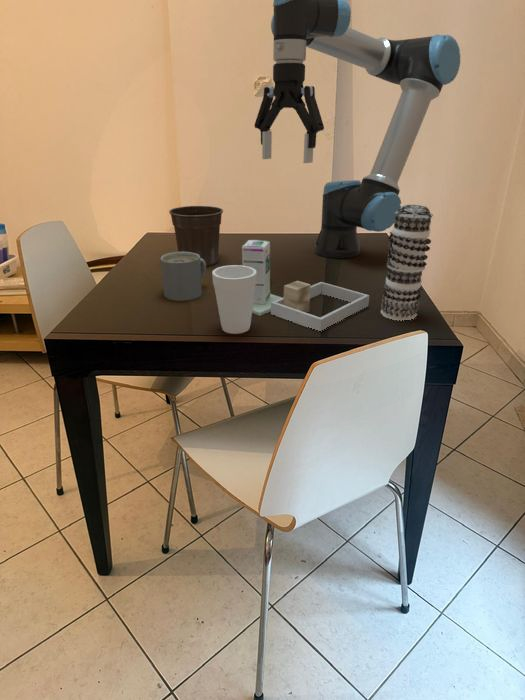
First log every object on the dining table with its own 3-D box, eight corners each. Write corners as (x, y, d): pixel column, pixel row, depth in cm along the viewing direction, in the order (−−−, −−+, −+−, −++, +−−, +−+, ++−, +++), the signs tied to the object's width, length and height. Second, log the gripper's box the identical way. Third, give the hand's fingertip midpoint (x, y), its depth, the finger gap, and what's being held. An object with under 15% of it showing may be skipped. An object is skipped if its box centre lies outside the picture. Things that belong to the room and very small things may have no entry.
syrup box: (265, 305, 114) (266, 246, 107) (242, 303, 115) (241, 245, 108) (270, 296, 119) (271, 240, 112) (248, 294, 120) (247, 239, 113)
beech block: (296, 307, 115) (297, 280, 112) (309, 311, 112) (310, 284, 109) (283, 313, 112) (284, 285, 108) (296, 318, 109) (297, 289, 106)
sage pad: (257, 292, 124) (257, 289, 123) (289, 303, 117) (289, 300, 117) (227, 303, 117) (227, 300, 116) (260, 315, 110) (260, 312, 110)
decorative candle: (371, 314, 111) (384, 207, 99) (390, 303, 117) (404, 201, 105) (407, 325, 106) (425, 213, 94) (424, 313, 112) (444, 206, 100)
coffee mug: (177, 304, 116) (173, 265, 112) (157, 293, 123) (153, 256, 118) (220, 291, 124) (218, 255, 120) (199, 282, 131) (196, 247, 126)
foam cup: (215, 319, 108) (212, 265, 102) (254, 318, 109) (254, 264, 103) (215, 337, 100) (212, 279, 94) (258, 336, 100) (257, 278, 94)
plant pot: (191, 252, 158) (188, 203, 150) (233, 258, 152) (232, 207, 144) (163, 265, 145) (158, 212, 137) (207, 272, 139) (204, 217, 131)
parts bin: (320, 292, 124) (321, 281, 123) (368, 306, 115) (369, 295, 114) (270, 314, 111) (270, 302, 110) (320, 332, 102) (321, 319, 101)
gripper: (240, 64, 113) (241, 158, 123) (323, 58, 98) (317, 165, 108) (260, 66, 118) (260, 156, 128) (343, 61, 103) (335, 163, 113)
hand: (286, 160), depth 118 cm, fingers open, 13 cm apart
